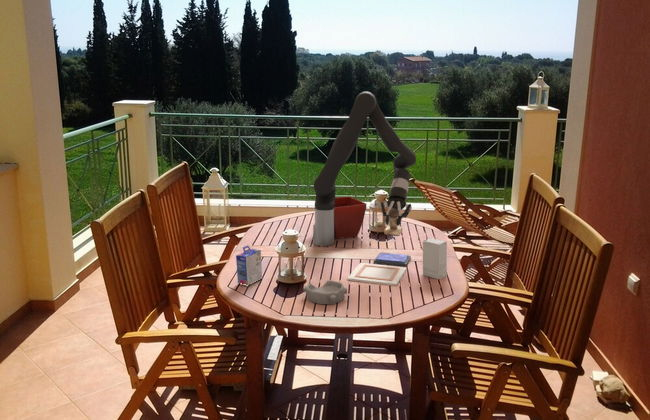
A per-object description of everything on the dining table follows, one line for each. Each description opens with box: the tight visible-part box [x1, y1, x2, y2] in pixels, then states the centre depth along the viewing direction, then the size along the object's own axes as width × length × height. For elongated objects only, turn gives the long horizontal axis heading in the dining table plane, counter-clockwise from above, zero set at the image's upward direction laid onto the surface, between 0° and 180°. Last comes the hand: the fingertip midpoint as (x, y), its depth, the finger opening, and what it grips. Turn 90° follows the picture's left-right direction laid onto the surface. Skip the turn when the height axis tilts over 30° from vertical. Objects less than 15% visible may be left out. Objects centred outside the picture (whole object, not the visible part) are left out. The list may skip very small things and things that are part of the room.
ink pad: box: [373, 252, 412, 268], centre depth 274 cm, size 14×11×2 cm
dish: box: [303, 280, 348, 305], centre depth 232 cm, size 14×14×5 cm
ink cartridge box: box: [235, 245, 263, 285], centre depth 248 cm, size 10×6×14 cm, turn 149°
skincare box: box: [422, 237, 448, 280], centre depth 255 cm, size 8×6×15 cm
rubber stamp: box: [384, 208, 403, 237], centre depth 270 cm, size 6×6×11 cm
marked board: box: [346, 262, 407, 286], centre depth 257 cm, size 20×20×1 cm
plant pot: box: [334, 196, 367, 240], centre depth 312 cm, size 19×19×17 cm
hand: (392, 224), depth 269 cm, fingers closed on rubber stamp, 4 cm apart
